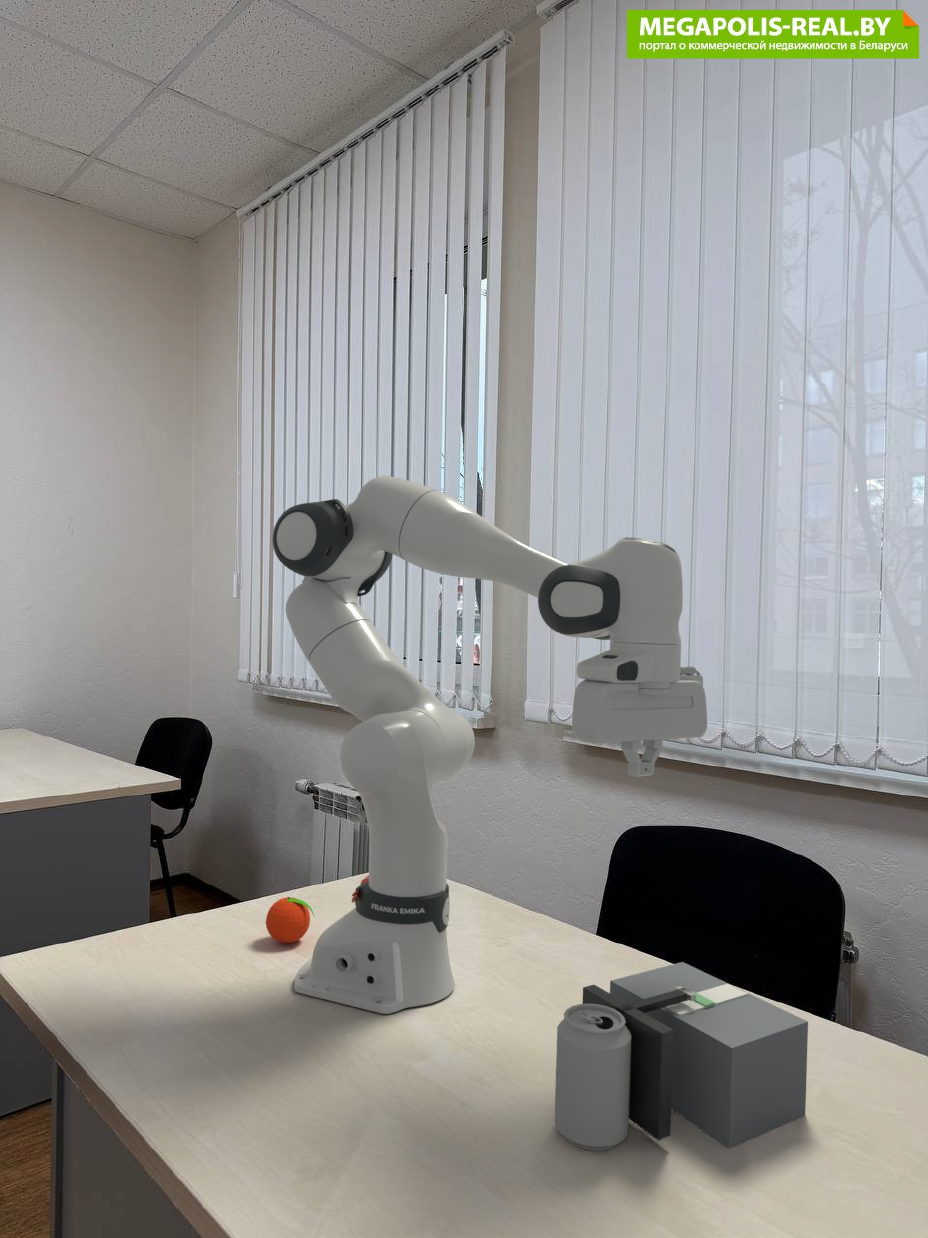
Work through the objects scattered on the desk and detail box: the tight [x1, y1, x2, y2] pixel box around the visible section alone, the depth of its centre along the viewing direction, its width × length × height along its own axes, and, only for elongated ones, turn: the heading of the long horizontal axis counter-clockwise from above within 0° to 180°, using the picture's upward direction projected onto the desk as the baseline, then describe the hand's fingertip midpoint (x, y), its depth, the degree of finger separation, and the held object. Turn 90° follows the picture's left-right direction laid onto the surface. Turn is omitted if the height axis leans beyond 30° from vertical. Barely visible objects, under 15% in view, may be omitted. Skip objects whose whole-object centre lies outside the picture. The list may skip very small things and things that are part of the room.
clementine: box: [265, 896, 315, 944], centre depth 135 cm, size 8×7×7 cm
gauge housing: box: [609, 961, 809, 1149], centre depth 95 cm, size 12×18×10 cm, turn 32°
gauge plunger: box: [582, 984, 696, 1141], centre depth 91 cm, size 10×12×10 cm
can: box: [554, 1003, 631, 1152], centre depth 86 cm, size 8×8×12 cm
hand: (640, 775), depth 107 cm, fingers closed
